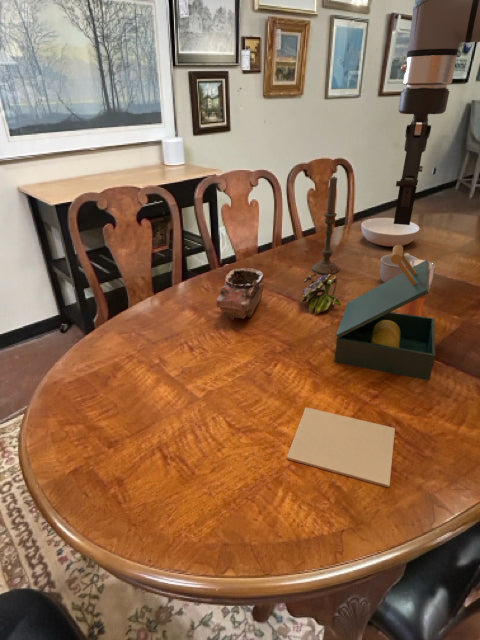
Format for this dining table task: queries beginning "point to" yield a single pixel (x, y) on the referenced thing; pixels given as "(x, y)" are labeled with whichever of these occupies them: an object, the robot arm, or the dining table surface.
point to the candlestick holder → (328, 234)
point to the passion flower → (324, 298)
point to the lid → (387, 294)
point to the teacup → (392, 267)
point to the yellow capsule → (386, 334)
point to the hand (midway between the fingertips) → (403, 214)
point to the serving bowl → (388, 232)
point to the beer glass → (418, 304)
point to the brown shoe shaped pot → (241, 292)
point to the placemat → (344, 446)
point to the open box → (405, 360)
